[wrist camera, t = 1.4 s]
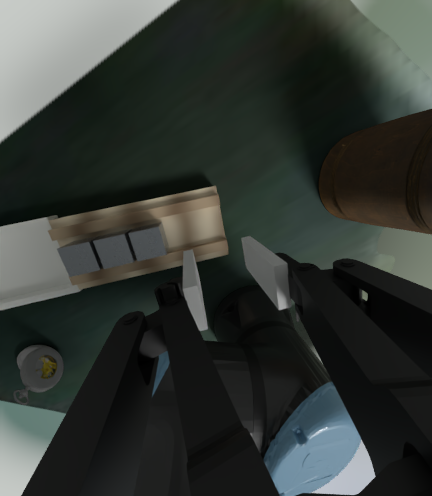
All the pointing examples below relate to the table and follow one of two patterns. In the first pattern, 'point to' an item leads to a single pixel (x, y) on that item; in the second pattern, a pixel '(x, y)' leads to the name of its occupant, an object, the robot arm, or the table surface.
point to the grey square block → (115, 249)
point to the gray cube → (149, 241)
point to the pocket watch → (38, 369)
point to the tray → (31, 264)
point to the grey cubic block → (80, 256)
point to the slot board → (145, 213)
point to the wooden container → (382, 175)
